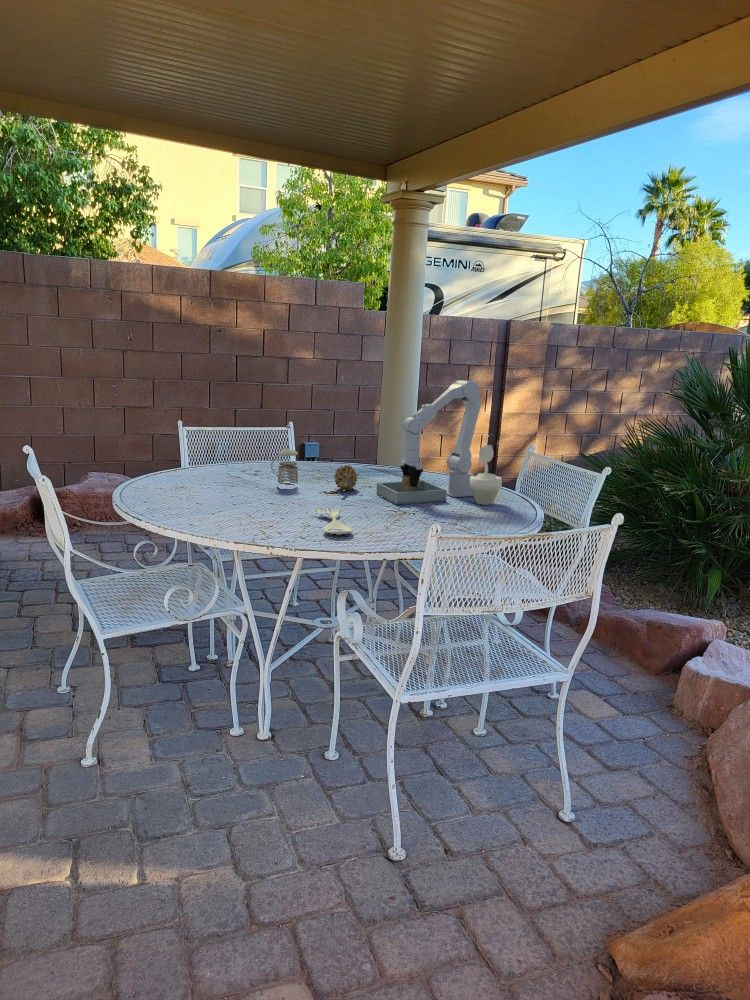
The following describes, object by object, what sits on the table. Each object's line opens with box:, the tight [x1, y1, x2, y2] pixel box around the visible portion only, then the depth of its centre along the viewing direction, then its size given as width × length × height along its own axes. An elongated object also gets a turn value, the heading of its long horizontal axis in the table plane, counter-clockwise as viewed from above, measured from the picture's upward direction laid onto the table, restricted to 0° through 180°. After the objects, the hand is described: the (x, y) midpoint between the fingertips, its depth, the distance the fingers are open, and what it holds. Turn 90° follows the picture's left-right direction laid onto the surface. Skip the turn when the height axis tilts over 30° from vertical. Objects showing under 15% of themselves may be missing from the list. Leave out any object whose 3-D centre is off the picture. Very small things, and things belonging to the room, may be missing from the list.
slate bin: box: [376, 480, 448, 505], centre depth 277 cm, size 20×20×4 cm
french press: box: [270, 424, 299, 485], centre depth 290 cm, size 10×12×25 cm
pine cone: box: [333, 464, 358, 491], centre depth 285 cm, size 22×10×10 cm, turn 1°
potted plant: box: [470, 441, 504, 506], centre depth 268 cm, size 13×12×25 cm
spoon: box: [314, 505, 354, 536], centre depth 233 cm, size 9×32×4 cm, turn 11°
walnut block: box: [401, 475, 421, 491], centre depth 276 cm, size 5×5×5 cm
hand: (410, 485), depth 276 cm, fingers closed on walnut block, 5 cm apart
